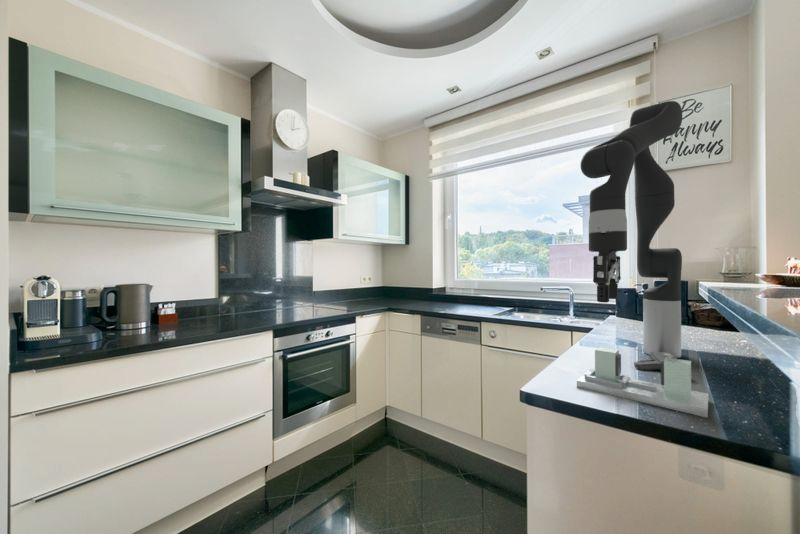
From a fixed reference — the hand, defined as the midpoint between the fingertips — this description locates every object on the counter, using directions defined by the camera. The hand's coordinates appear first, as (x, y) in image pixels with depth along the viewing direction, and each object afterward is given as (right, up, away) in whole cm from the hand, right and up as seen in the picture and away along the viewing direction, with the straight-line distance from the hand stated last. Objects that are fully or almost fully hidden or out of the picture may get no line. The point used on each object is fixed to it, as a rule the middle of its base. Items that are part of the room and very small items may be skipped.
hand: (607, 300), depth 75 cm
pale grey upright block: (0, -19, 0) cm, 19 cm away
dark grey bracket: (+22, -20, +13) cm, 32 cm away
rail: (+4, -20, -4) cm, 21 cm away
